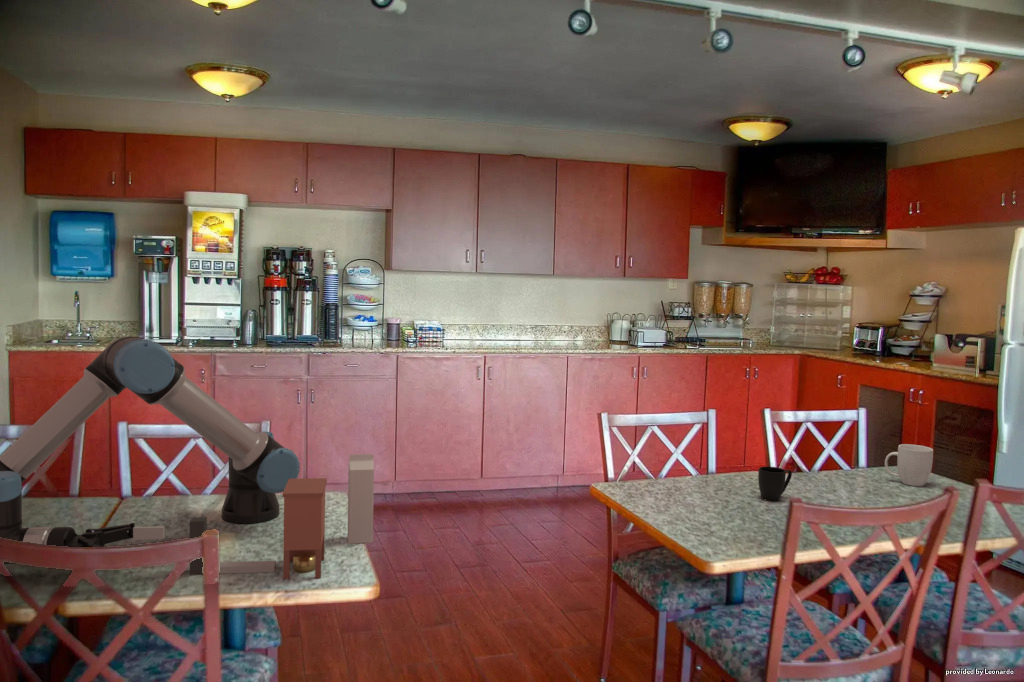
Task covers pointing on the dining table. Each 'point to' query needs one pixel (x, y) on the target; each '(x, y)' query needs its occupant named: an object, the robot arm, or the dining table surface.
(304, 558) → the token
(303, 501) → the cabinet
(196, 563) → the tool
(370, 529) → the milk
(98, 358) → the robot arm
